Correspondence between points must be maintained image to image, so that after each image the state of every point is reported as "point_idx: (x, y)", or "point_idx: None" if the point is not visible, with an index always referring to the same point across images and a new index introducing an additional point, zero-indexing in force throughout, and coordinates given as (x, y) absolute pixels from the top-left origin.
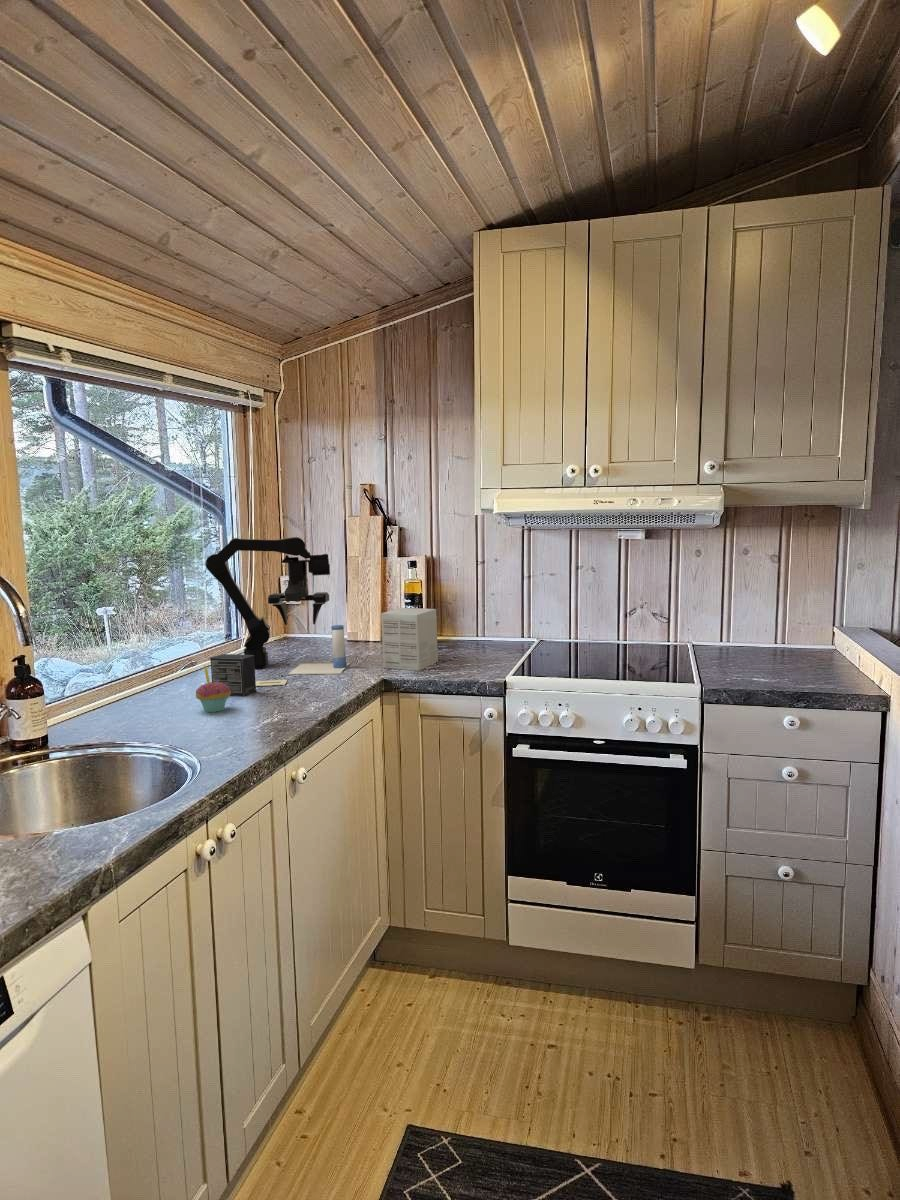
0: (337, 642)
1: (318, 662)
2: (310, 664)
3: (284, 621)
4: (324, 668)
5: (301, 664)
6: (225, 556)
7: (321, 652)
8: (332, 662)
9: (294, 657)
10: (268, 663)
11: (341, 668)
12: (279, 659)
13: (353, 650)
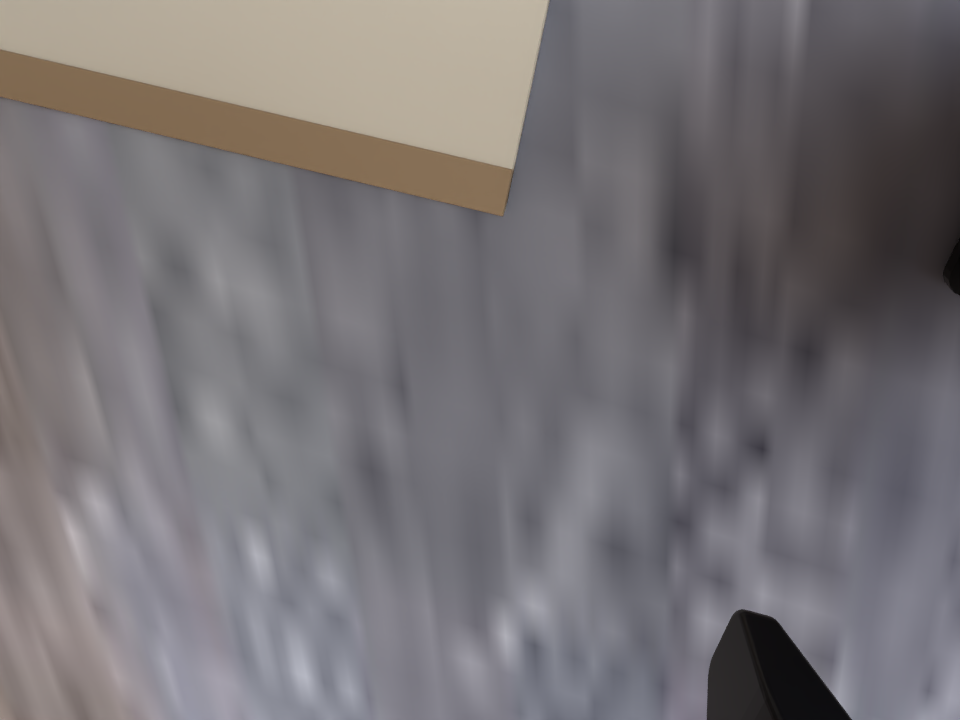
0: None
1: (299, 162)
2: (386, 75)
3: (809, 690)
4: None
5: (505, 110)
6: None
7: (360, 693)
8: (128, 111)
9: (604, 585)
10: (951, 272)
11: None
12: (768, 548)
13: (100, 670)
